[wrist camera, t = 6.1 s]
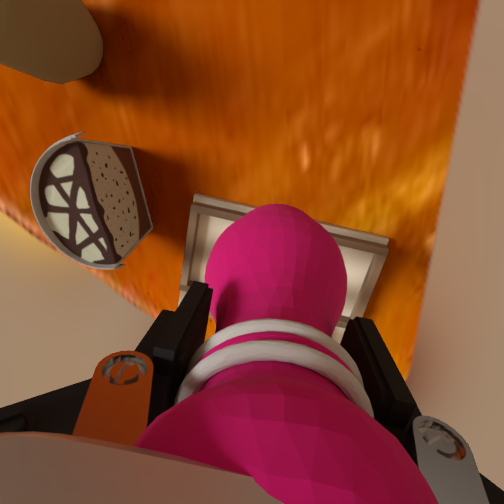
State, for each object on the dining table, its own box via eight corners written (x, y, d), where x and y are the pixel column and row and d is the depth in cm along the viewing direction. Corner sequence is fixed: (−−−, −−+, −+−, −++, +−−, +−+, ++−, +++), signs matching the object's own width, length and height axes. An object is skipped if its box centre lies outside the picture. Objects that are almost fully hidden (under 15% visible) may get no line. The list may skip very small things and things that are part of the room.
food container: (75, 140, 34) (-1, 143, 25) (127, 131, 33) (68, 131, 24) (109, 245, 38) (54, 281, 29) (156, 239, 38) (115, 274, 28)
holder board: (196, 193, 35) (190, 197, 33) (386, 236, 35) (393, 244, 33) (180, 305, 40) (173, 315, 38) (344, 343, 40) (348, 356, 38)
